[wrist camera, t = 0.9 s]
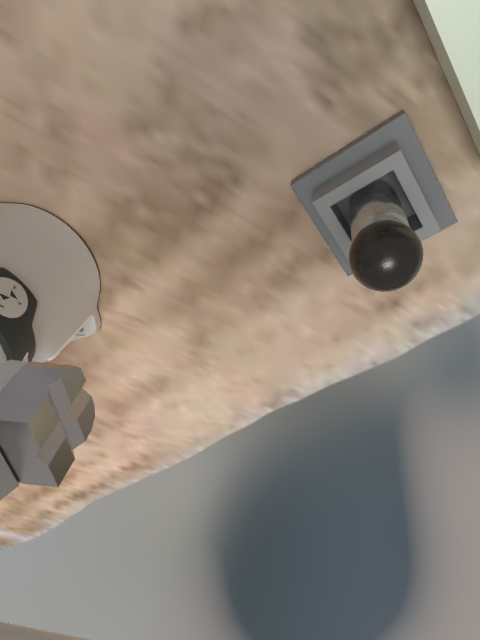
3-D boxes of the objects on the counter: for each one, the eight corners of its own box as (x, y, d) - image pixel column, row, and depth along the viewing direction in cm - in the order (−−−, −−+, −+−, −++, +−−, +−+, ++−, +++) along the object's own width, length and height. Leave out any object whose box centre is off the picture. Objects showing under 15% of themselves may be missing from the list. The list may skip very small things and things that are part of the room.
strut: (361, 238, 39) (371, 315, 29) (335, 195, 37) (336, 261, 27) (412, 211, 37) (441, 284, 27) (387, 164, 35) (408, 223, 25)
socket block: (347, 270, 42) (348, 292, 39) (291, 181, 38) (287, 197, 35) (454, 216, 38) (466, 236, 34) (403, 110, 34) (410, 120, 30)
